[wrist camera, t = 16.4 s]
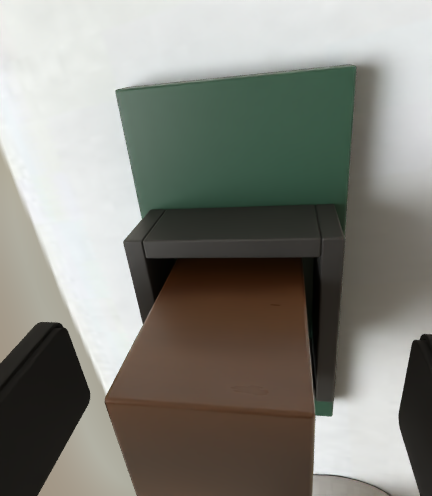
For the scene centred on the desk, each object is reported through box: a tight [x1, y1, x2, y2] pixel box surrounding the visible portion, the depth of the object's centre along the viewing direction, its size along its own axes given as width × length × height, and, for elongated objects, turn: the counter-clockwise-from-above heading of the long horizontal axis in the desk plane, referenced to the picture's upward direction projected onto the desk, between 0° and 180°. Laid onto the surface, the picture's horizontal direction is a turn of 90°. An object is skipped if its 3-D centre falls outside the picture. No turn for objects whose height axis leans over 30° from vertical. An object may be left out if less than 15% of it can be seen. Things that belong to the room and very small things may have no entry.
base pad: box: [116, 65, 356, 416], centre depth 13 cm, size 14×7×4 cm, turn 6°
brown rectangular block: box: [105, 257, 315, 496], centre depth 11 cm, size 4×4×7 cm
